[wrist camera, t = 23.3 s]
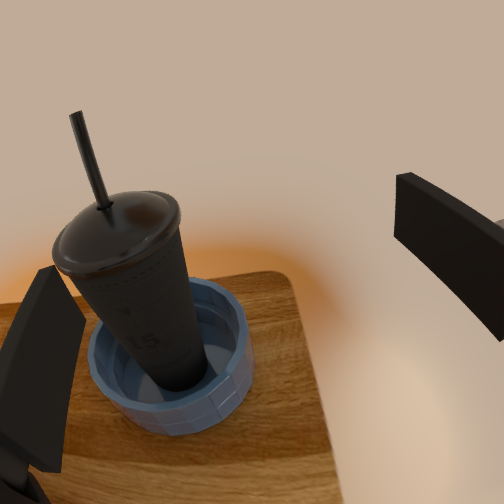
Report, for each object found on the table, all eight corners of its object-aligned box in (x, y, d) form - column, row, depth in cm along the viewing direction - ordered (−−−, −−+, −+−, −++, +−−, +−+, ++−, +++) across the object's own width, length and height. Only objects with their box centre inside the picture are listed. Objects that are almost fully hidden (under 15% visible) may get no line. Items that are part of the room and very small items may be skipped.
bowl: (240, 304, 30) (232, 264, 27) (270, 422, 20) (265, 391, 17) (120, 328, 29) (99, 292, 26) (113, 443, 19) (79, 417, 16)
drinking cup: (130, 346, 26) (28, 127, 14) (209, 319, 28) (146, 84, 16) (144, 419, 20) (-20, 166, 8) (238, 388, 22) (159, 94, 10)
